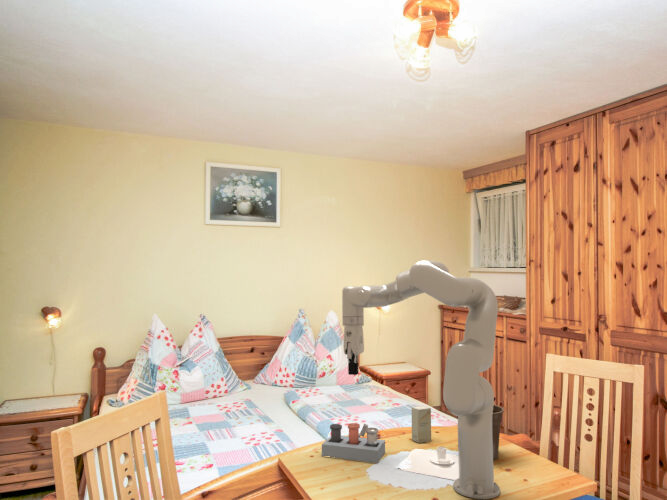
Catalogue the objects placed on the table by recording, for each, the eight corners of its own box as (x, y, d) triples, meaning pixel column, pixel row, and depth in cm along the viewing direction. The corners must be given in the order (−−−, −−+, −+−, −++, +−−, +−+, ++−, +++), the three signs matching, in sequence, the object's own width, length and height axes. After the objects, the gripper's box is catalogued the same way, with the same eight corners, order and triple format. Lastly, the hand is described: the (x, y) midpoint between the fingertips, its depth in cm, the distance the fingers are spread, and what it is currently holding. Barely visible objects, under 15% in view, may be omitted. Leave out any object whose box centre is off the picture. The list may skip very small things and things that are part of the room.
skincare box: (418, 443, 169) (418, 409, 171) (411, 440, 173) (410, 407, 174) (432, 440, 173) (431, 407, 174) (424, 437, 176) (423, 405, 177)
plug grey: (376, 456, 154) (376, 431, 155) (364, 454, 155) (364, 430, 156) (379, 452, 158) (379, 428, 159) (367, 450, 159) (367, 427, 160)
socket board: (377, 463, 150) (377, 450, 151) (321, 456, 157) (321, 444, 157) (385, 452, 161) (385, 440, 161) (332, 446, 167) (332, 434, 168)
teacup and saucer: (450, 468, 145) (449, 455, 145) (425, 464, 149) (425, 451, 149) (457, 459, 153) (456, 446, 153) (433, 455, 157) (433, 442, 157)
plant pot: (497, 447, 165) (496, 401, 166) (511, 464, 149) (509, 413, 150) (451, 446, 166) (450, 400, 168) (460, 463, 150) (459, 412, 152)
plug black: (339, 451, 158) (339, 427, 159) (328, 450, 160) (328, 426, 160) (343, 447, 162) (343, 424, 163) (332, 446, 164) (332, 423, 164)
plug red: (357, 451, 156) (357, 427, 157) (346, 450, 158) (346, 426, 158) (361, 447, 160) (361, 423, 161) (349, 446, 162) (349, 422, 162)
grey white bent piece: (348, 447, 165) (348, 425, 166) (348, 446, 167) (348, 423, 168) (368, 447, 166) (368, 424, 166) (367, 445, 167) (367, 423, 168)
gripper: (357, 323, 154) (357, 378, 153) (368, 320, 168) (369, 371, 167) (336, 322, 157) (336, 377, 155) (349, 319, 171) (349, 370, 169)
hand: (353, 374), depth 161 cm, fingers closed
